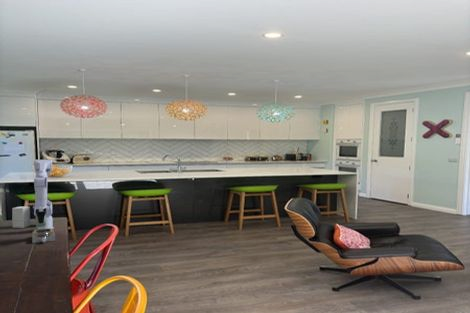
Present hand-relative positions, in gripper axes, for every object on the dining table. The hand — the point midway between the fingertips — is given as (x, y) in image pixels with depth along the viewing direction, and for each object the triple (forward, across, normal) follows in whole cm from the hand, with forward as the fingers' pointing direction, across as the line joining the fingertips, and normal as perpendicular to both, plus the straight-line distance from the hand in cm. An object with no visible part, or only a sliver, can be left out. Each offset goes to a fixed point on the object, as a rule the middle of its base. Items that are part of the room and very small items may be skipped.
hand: (41, 222), depth 207 cm
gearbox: (+9, +5, +1) cm, 10 cm away
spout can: (+2, 0, 0) cm, 2 cm away
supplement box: (+9, -39, -11) cm, 41 cm away
